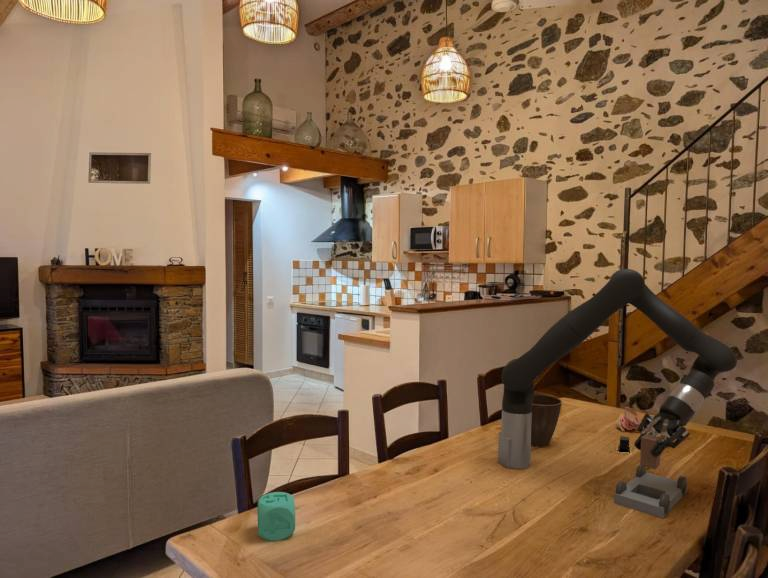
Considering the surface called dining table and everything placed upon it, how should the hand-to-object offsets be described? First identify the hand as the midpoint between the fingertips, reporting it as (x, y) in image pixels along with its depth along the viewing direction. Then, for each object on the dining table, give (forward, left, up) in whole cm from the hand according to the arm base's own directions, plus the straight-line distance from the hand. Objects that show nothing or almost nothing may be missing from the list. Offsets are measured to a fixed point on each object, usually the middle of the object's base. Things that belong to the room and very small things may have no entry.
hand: (644, 451), depth 142 cm
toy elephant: (+42, +52, -14) cm, 69 cm away
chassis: (+4, +2, -14) cm, 14 cm away
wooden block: (+2, 0, -4) cm, 5 cm away
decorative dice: (-97, +9, -14) cm, 98 cm away
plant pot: (-2, +48, -14) cm, 50 cm away
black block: (+24, +35, -15) cm, 45 cm away
